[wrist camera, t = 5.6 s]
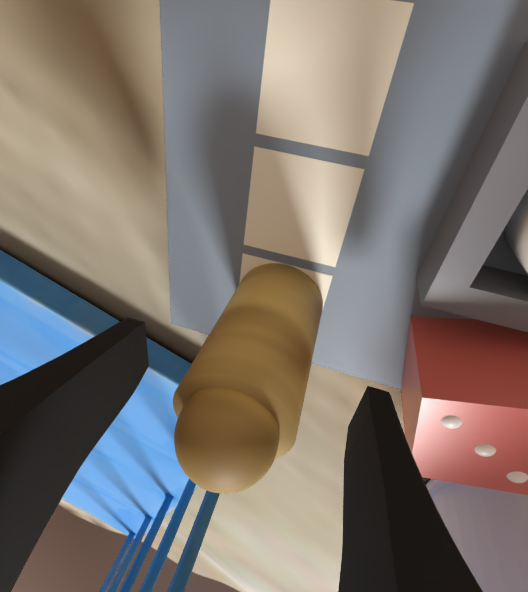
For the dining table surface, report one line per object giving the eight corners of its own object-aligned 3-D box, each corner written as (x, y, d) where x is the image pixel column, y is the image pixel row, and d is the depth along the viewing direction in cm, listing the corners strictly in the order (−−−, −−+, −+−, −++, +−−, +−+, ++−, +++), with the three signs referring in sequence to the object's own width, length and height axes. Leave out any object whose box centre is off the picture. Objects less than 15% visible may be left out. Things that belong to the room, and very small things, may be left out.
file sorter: (-14, 232, 18) (-862, 613, 6) (270, 400, 19) (94, 985, 7) (-12, 434, 33) (-242, 658, 21) (149, 519, 34) (24, 775, 22)
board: (512, 411, 15) (517, 423, 15) (176, 316, 17) (170, 323, 17) (1249, -392, 5) (1352, -444, 4) (161, -387, 7) (144, -423, 6)
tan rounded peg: (312, 344, 15) (269, 540, 9) (235, 322, 16) (143, 494, 10) (332, 275, 13) (295, 470, 7) (242, 253, 14) (131, 416, 7)
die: (504, 399, 14) (544, 502, 11) (401, 388, 15) (408, 479, 12) (533, 322, 12) (592, 421, 9) (410, 316, 13) (422, 401, 10)
